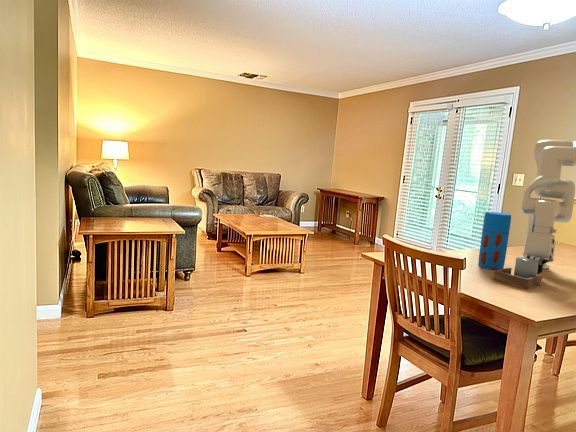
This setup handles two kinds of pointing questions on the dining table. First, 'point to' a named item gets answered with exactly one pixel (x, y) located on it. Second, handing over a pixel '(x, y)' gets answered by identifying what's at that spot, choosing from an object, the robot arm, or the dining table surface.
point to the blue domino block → (494, 240)
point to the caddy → (516, 279)
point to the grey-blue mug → (526, 267)
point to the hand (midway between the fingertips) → (535, 272)
